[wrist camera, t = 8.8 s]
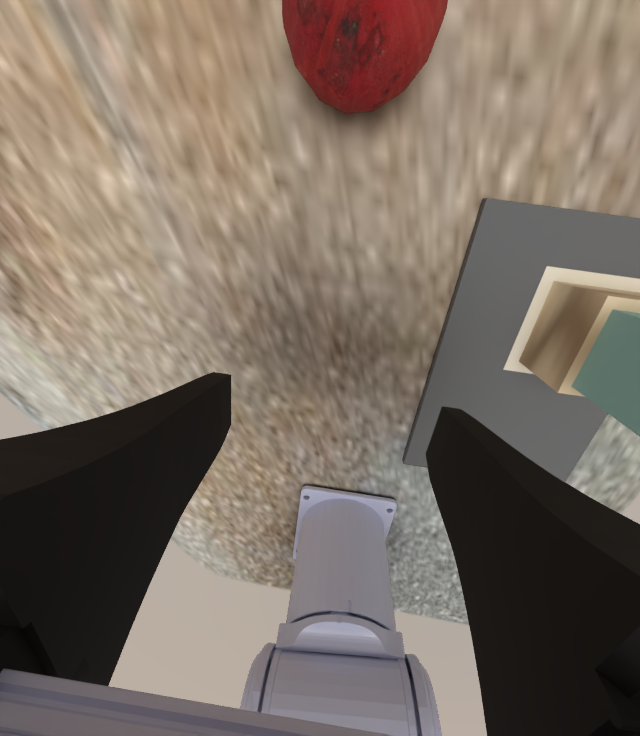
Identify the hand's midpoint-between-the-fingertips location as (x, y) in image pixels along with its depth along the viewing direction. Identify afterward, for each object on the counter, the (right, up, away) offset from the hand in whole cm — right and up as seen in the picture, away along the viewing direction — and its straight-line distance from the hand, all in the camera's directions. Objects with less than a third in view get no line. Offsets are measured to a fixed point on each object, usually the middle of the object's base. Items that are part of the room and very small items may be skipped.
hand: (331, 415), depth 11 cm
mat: (+13, +2, +10) cm, 16 cm away
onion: (+1, +16, +4) cm, 17 cm away
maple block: (+15, +4, +8) cm, 17 cm away
